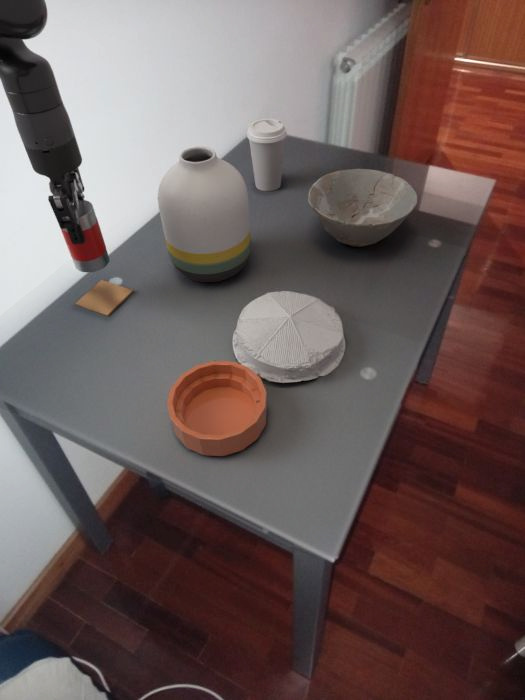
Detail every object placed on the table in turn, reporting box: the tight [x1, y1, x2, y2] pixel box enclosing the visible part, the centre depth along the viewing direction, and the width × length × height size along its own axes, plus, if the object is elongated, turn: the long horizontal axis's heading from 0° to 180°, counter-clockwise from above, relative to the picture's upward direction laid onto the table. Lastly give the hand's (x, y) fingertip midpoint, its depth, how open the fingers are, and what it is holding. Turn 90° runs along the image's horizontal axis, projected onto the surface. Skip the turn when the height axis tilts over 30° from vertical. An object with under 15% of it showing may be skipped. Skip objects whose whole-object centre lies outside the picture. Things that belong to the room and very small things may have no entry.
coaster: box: [75, 279, 134, 317], centre depth 97 cm, size 8×8×1 cm
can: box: [60, 199, 110, 274], centre depth 87 cm, size 6×6×11 cm
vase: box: [157, 145, 252, 283], centre depth 95 cm, size 17×17×24 cm
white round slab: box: [232, 290, 346, 384], centre depth 85 cm, size 20×20×7 cm
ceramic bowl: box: [307, 168, 418, 247], centre depth 106 cm, size 22×23×10 cm
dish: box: [166, 360, 268, 457], centre depth 75 cm, size 15×15×5 cm
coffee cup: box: [246, 118, 288, 192], centre depth 120 cm, size 10×10×15 cm
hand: (81, 231), depth 86 cm, fingers closed on can, 6 cm apart
